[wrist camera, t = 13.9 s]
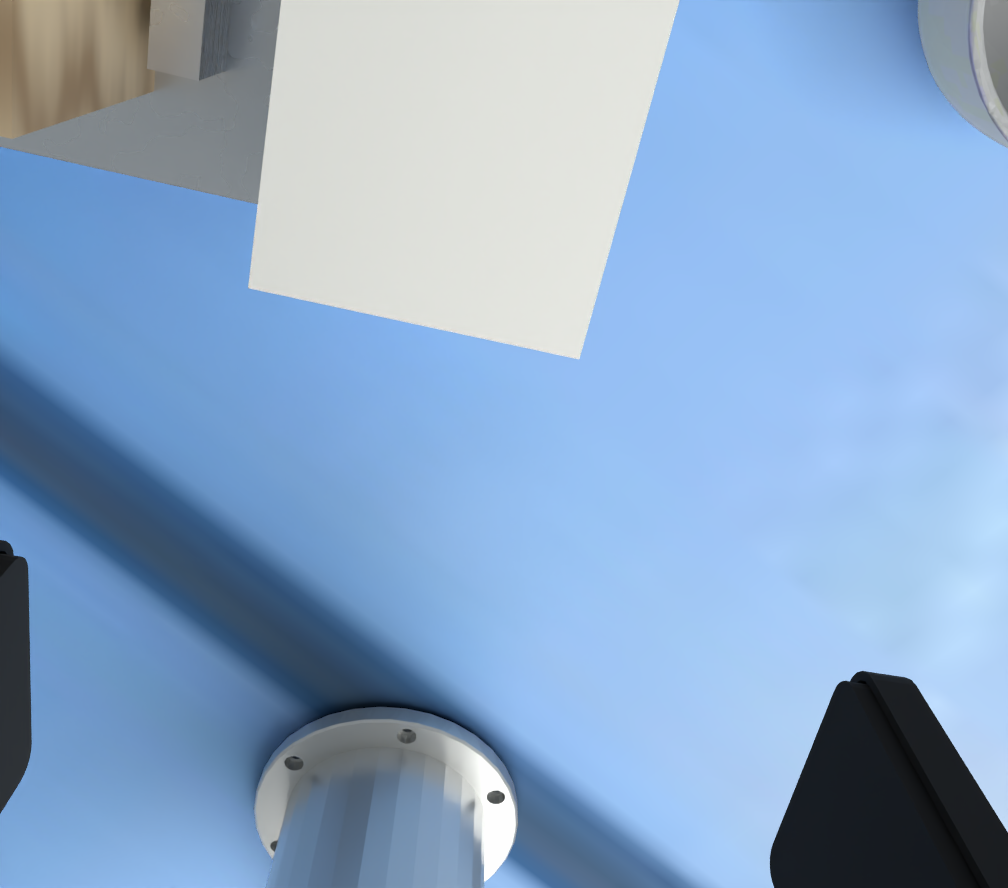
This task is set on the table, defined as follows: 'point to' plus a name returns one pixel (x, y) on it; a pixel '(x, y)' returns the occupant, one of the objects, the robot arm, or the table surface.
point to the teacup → (969, 59)
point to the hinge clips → (185, 103)
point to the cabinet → (454, 158)
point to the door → (69, 59)
